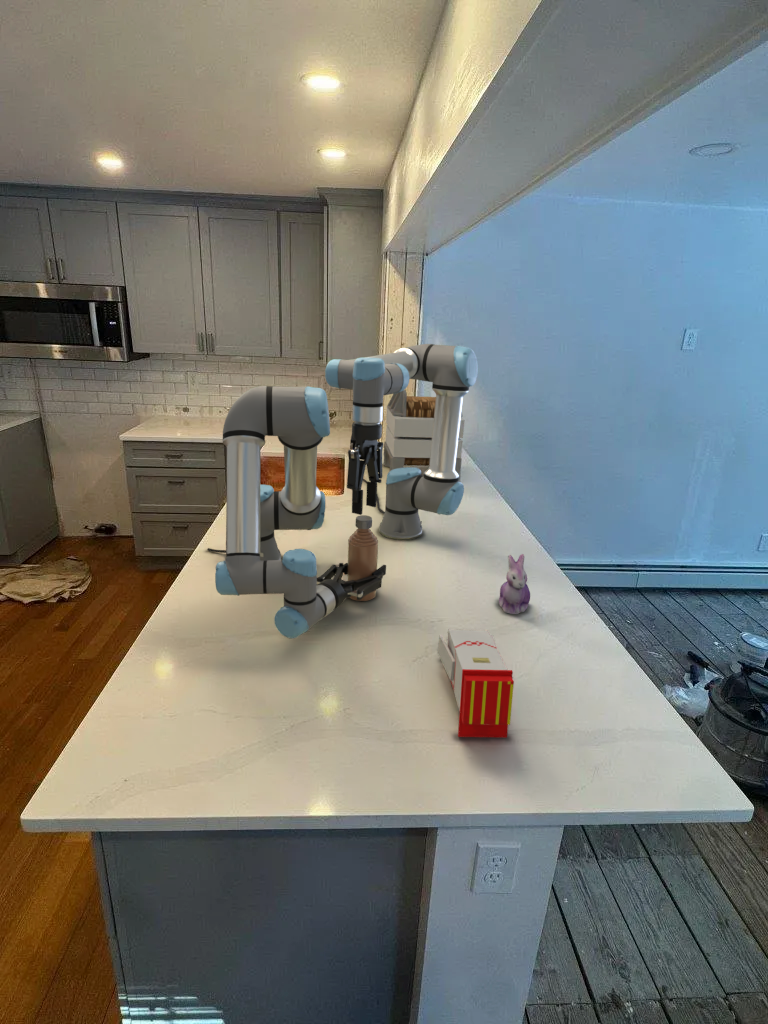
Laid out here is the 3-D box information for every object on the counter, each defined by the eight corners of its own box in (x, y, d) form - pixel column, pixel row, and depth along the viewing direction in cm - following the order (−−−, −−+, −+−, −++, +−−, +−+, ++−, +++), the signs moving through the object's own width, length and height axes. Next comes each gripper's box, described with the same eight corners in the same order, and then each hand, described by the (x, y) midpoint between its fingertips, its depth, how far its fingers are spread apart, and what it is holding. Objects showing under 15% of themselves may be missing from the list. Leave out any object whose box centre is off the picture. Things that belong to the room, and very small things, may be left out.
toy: (488, 613, 130) (523, 677, 101) (484, 667, 133) (517, 744, 104) (435, 612, 130) (455, 676, 101) (432, 666, 133) (451, 743, 103)
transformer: (382, 463, 289) (386, 382, 275) (445, 464, 293) (451, 384, 279) (390, 482, 257) (394, 392, 243) (460, 483, 261) (468, 394, 247)
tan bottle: (348, 601, 153) (349, 525, 145) (345, 587, 160) (347, 514, 153) (377, 600, 154) (380, 524, 146) (374, 586, 161) (377, 514, 154)
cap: (356, 529, 148) (356, 521, 147) (354, 523, 152) (355, 515, 151) (372, 529, 148) (373, 520, 148) (370, 523, 152) (371, 515, 152)
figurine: (512, 619, 147) (519, 566, 142) (488, 601, 156) (494, 551, 151) (540, 611, 151) (548, 560, 146) (515, 594, 160) (522, 546, 155)
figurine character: (361, 456, 307) (362, 446, 320) (362, 442, 303) (362, 433, 317) (349, 455, 306) (350, 446, 320) (349, 442, 303) (350, 433, 316)
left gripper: (290, 600, 146) (339, 568, 165) (360, 623, 136) (403, 587, 155) (290, 574, 143) (340, 544, 162) (361, 596, 134) (404, 562, 153)
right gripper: (373, 415, 150) (370, 497, 158) (332, 426, 134) (331, 517, 142) (398, 418, 147) (394, 502, 155) (359, 430, 131) (356, 523, 139)
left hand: (371, 565), depth 159 cm, fingers closed on tan bottle, 8 cm apart
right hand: (364, 509), depth 149 cm, fingers open, 6 cm apart
